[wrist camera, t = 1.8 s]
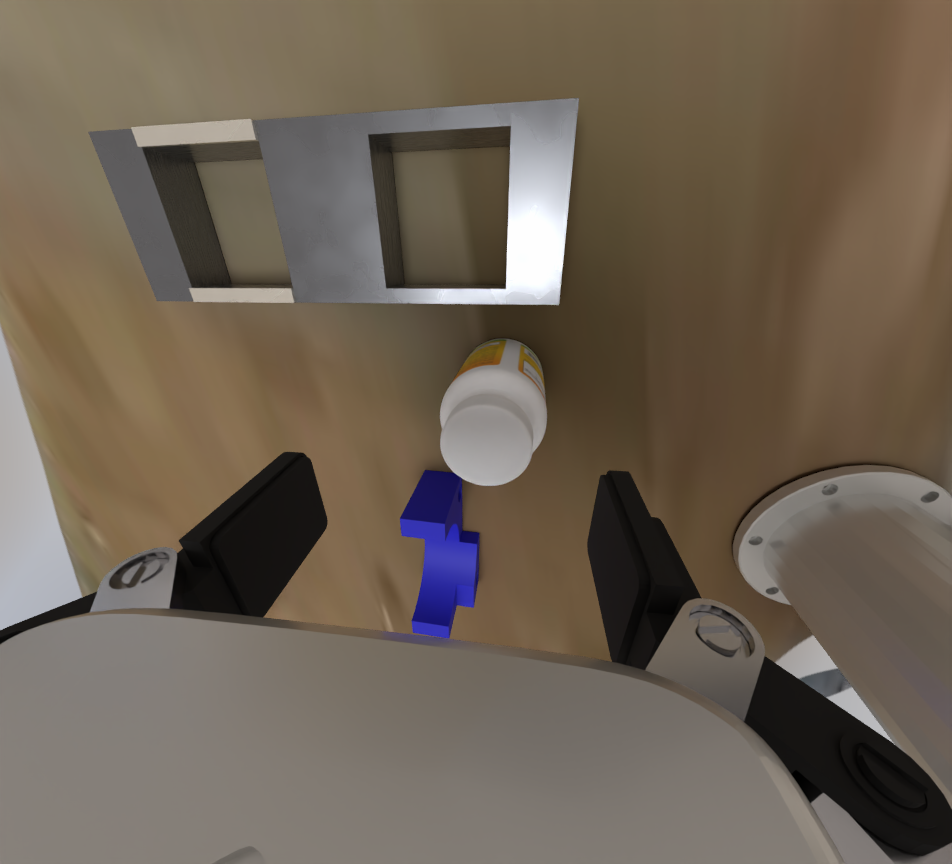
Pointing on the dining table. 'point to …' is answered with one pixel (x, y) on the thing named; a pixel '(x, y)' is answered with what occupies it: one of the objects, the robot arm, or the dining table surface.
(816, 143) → the dining table surface
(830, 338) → the dining table surface
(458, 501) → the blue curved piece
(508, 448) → the supplement bottle
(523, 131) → the metal bottle holder tray
